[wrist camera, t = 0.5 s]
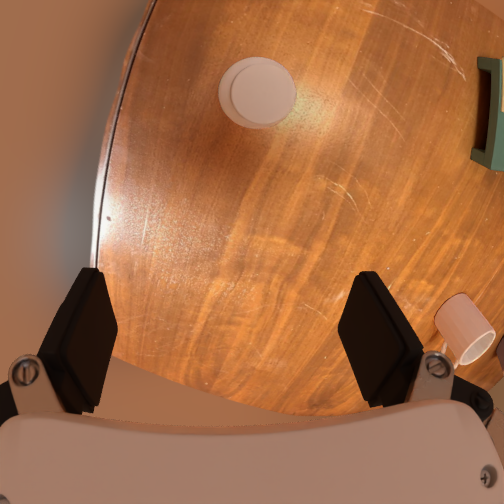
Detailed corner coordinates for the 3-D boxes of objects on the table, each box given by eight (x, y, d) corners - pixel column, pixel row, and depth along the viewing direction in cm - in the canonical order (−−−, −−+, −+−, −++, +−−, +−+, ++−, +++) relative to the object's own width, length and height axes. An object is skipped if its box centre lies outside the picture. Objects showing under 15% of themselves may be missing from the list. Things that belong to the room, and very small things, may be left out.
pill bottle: (235, 129, 26) (242, 151, 18) (207, 80, 23) (199, 77, 15) (288, 103, 25) (320, 114, 17) (262, 54, 22) (283, 39, 14)
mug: (413, 340, 47) (436, 381, 38) (452, 289, 41) (483, 329, 33) (438, 342, 49) (459, 379, 40) (474, 296, 43) (502, 332, 35)
